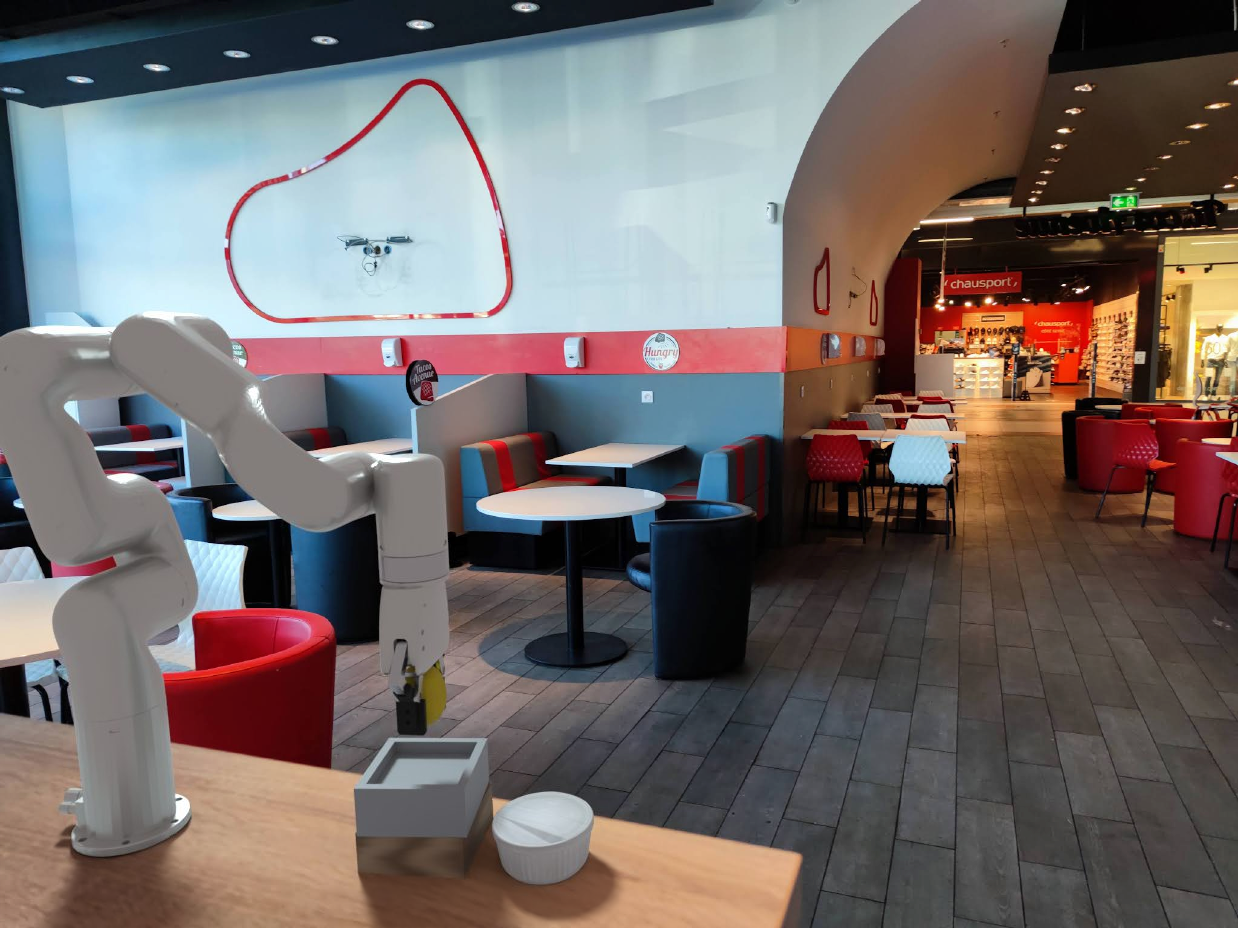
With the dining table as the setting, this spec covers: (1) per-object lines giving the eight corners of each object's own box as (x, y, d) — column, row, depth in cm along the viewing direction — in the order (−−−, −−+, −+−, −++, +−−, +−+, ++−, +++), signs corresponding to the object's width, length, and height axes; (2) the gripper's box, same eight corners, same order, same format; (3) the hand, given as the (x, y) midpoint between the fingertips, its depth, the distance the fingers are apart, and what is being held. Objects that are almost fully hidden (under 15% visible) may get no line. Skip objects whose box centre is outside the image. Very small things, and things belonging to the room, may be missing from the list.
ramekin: (485, 892, 90) (483, 845, 90) (502, 832, 101) (500, 790, 101) (591, 892, 90) (590, 845, 89) (597, 832, 101) (596, 790, 100)
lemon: (436, 741, 94) (433, 672, 93) (389, 737, 95) (385, 669, 94) (455, 720, 100) (452, 654, 99) (411, 716, 101) (407, 651, 100)
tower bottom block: (358, 875, 94) (355, 833, 93) (398, 816, 106) (396, 778, 105) (464, 881, 93) (462, 838, 92) (493, 820, 104) (491, 781, 104)
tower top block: (356, 836, 93) (353, 788, 92) (391, 780, 105) (389, 737, 104) (466, 837, 92) (464, 789, 91) (489, 781, 104) (487, 738, 103)
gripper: (410, 547, 104) (418, 690, 106) (347, 587, 87) (358, 755, 89) (470, 548, 103) (477, 692, 105) (419, 588, 86) (428, 758, 89)
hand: (422, 719), depth 97 cm, fingers closed on lemon, 5 cm apart
